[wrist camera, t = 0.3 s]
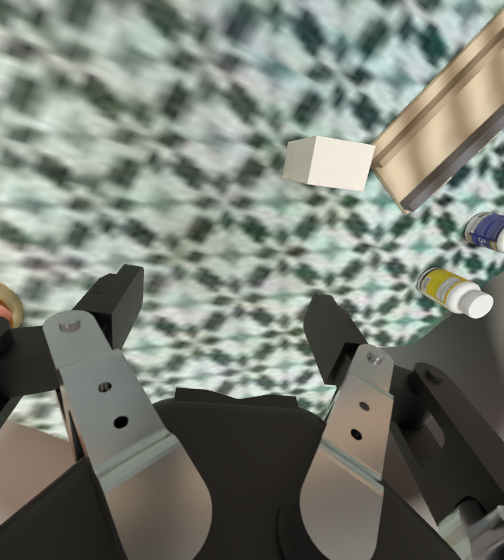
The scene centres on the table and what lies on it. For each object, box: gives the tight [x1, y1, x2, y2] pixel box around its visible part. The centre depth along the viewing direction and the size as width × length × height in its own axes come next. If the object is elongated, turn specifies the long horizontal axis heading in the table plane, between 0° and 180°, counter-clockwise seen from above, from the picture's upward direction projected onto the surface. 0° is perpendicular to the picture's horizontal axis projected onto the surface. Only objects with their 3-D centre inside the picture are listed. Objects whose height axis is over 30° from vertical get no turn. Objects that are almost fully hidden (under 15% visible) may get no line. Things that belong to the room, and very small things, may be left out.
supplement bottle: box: [418, 268, 493, 318], centre depth 44 cm, size 5×5×10 cm
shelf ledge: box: [370, 7, 504, 214], centre depth 36 cm, size 26×12×3 cm, turn 136°
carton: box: [282, 136, 376, 191], centre depth 32 cm, size 4×6×10 cm
